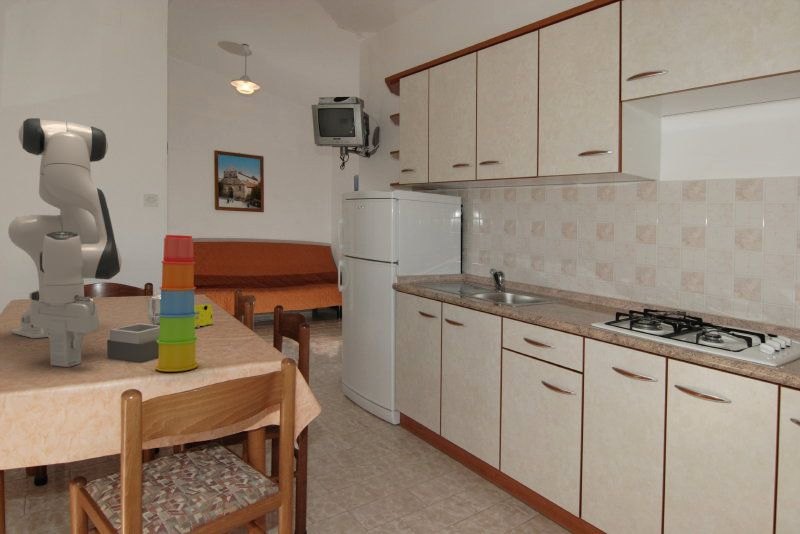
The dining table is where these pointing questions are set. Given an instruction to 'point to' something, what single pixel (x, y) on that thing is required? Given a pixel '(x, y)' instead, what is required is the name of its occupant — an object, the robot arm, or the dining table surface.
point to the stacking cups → (177, 306)
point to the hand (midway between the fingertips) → (65, 347)
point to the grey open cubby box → (134, 342)
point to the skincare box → (62, 345)
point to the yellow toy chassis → (203, 315)
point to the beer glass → (154, 310)
